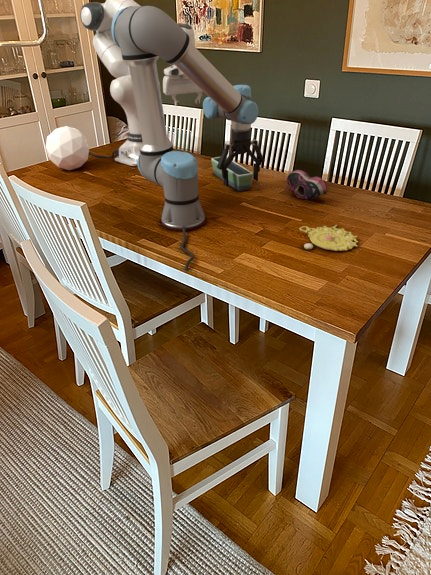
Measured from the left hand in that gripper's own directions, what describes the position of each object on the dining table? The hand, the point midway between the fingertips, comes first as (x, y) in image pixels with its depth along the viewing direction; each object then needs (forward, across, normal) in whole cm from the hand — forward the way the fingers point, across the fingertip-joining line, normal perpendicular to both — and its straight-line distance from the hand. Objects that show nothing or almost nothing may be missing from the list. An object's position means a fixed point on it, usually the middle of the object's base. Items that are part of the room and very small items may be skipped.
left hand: (187, 104), depth 190 cm
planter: (+28, -9, +24) cm, 38 cm away
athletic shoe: (+28, -26, +52) cm, 65 cm away
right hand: (+26, -9, +33) cm, 43 cm away
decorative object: (+28, -13, +88) cm, 93 cm away
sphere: (+29, +50, -30) cm, 65 cm away
